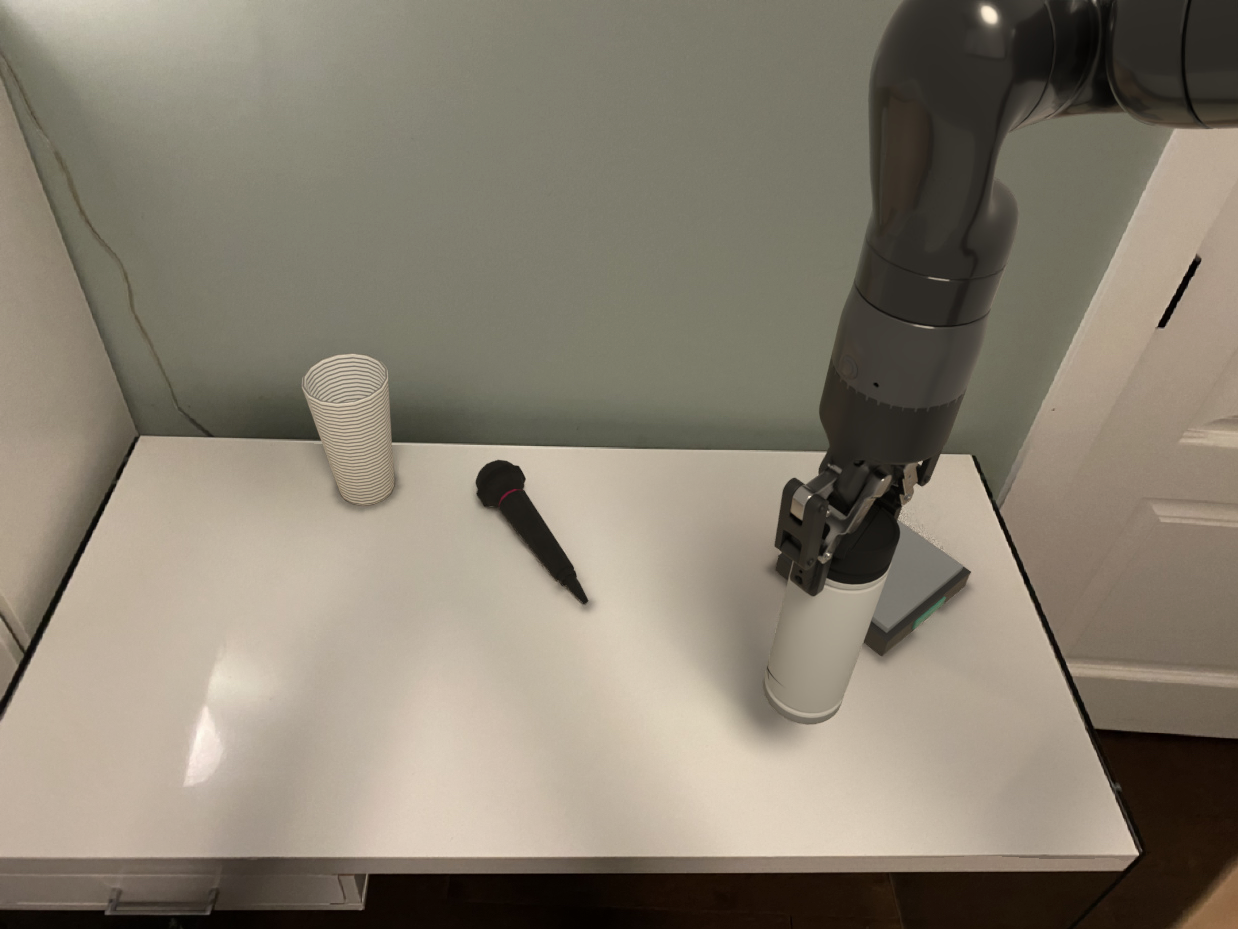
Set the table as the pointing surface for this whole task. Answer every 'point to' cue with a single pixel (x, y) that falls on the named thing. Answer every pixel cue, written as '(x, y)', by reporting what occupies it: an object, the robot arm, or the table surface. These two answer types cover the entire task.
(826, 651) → the travel mug
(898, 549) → the scale
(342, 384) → the cup
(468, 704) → the table surface
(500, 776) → the table surface
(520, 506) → the microphone
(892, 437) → the robot arm
